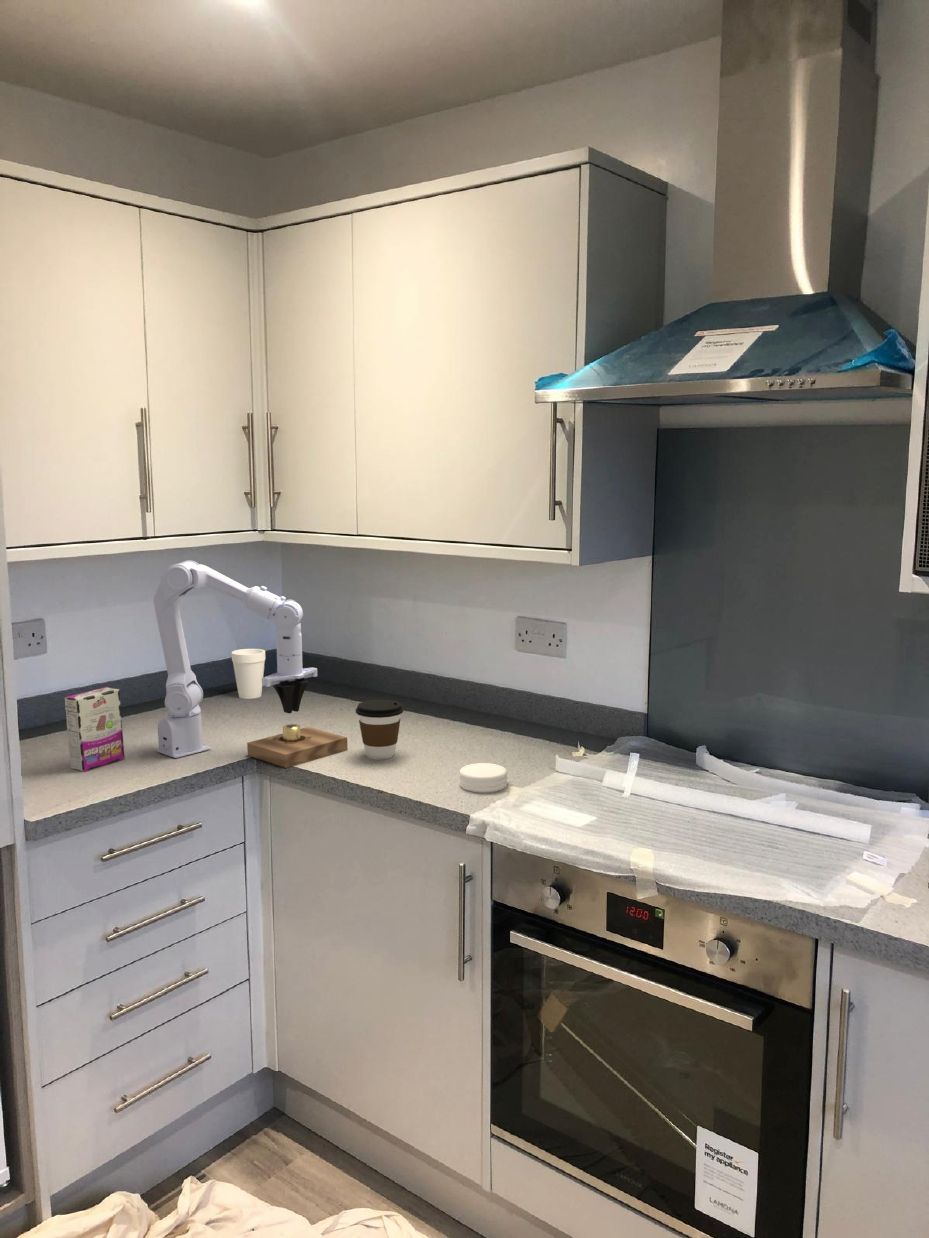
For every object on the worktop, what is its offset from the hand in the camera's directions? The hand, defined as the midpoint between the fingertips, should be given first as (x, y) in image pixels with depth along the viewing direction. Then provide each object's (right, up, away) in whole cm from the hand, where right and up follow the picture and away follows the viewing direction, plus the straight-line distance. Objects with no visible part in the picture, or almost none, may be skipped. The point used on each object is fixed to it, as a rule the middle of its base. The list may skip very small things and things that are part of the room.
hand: (291, 711), depth 224 cm
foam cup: (-22, -1, +55) cm, 59 cm away
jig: (+1, -10, 0) cm, 10 cm away
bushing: (0, -9, +2) cm, 9 cm away
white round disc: (+44, -14, -22) cm, 51 cm away
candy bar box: (-42, -11, -8) cm, 44 cm away
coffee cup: (+21, -10, -2) cm, 23 cm away
